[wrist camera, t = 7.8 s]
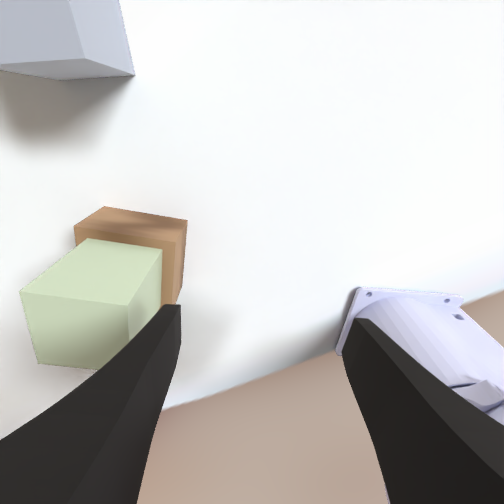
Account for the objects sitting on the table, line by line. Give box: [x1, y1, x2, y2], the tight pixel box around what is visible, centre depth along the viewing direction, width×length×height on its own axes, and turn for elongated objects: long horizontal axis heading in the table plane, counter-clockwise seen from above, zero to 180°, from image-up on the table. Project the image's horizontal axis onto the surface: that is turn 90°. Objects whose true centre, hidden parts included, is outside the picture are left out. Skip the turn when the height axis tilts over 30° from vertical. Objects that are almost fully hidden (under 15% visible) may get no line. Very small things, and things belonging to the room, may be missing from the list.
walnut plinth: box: [74, 206, 188, 309], centre depth 19 cm, size 6×6×4 cm
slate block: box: [0, 0, 135, 80], centre depth 12 cm, size 4×4×6 cm
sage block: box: [19, 238, 162, 370], centre depth 15 cm, size 4×4×6 cm
